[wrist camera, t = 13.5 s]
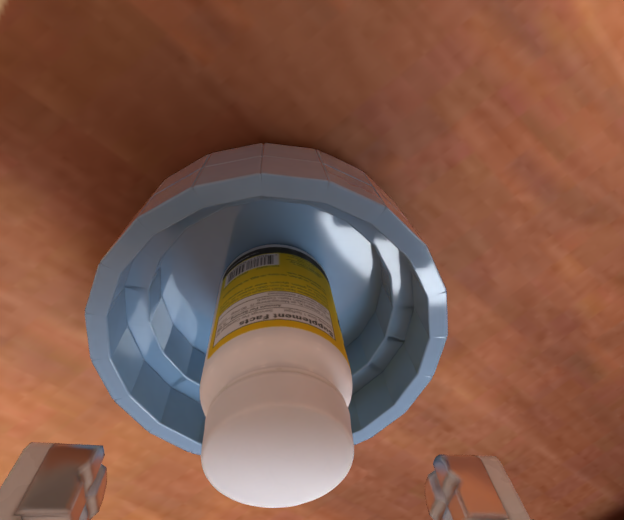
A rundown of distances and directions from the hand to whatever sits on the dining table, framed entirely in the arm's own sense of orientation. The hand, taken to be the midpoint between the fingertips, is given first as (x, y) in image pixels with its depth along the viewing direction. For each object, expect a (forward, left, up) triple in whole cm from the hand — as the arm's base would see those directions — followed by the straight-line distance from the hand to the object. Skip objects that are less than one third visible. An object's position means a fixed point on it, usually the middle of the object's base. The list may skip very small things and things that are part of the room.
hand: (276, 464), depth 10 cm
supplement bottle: (0, 0, -9) cm, 9 cm away
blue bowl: (0, 0, -9) cm, 9 cm away
